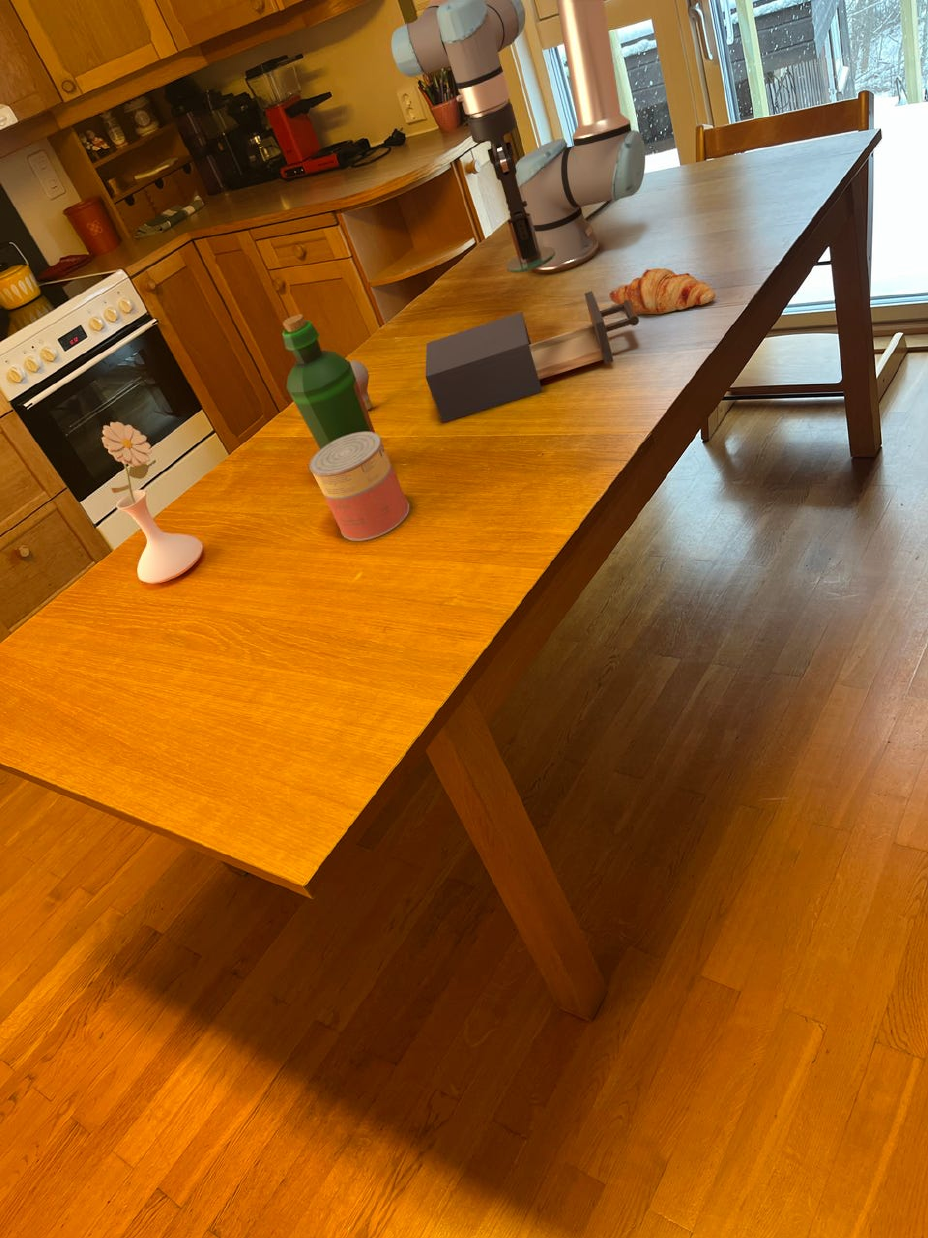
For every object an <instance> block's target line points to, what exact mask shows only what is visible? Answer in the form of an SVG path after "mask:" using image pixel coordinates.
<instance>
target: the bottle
mask: <svg viewBox="0 0 928 1238" xmlns="http://www.w3.org/2000/svg"><path fill="white" fill-rule="evenodd" d="M282 325H283V326H284V328H285V329H284V330H283V331H282V338H283V342H284V347H285V349H286V350H287V351H291V352H292V354H293V356H294V358H295V360H296V361H295V363H294V365H293V366H292V368H291V370H290V371H289V374H288V376H287V381H286V391H287V392H288V393H289V396H290V398H291V399H292V401H293V402H294V405H295V407H296V408H297V410H298V412H299V413H300V416H301V417H302V419H303V420H304V423H305V425H306V426H307V428H308V430H309V431H310V433H311V435H312V438H313V439H314V440H315V442H316V445H317V446H318V448H319V450H320V449H321V448H323V447H324V446H326V445H327V444H329V443H330V442H332V441H334V440H336V439H338V438H341V437H343V436H346V435H349V434H353V433H357V432H374V433H376V430H375V428H374V425H373V422H372V420H371V417H370V414H369V411H367V408H366V406H365V403H364V400H363V397H362V395H361V392H360V389H359V386H358V383H357V381H356V378H355V375H354V372H353V370H352V367H351V364H350V362H349V361H350V360H348V359H346V358H344V357H343V356H342V355H340V354H339V353H337V351H336V352H335V351H331V350H330V351H329V350H322V348H321V346H320V343H319V337H320V333H319V332H318V330H317V329H316V327H315V326H314V324H313V323H312V321H310V320H308V319H307V320H305V318H304V314H302V313H301V314H300V313H299V314H295V315H292V316H290V317H288V318H286V319H285V320H283V322H282Z"/></svg>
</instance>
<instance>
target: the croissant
mask: <svg viewBox="0 0 928 1238" xmlns="http://www.w3.org/2000/svg"><path fill="white" fill-rule="evenodd" d="M609 298H610V300H611V301H612V302H613V304H617V305H620V304H622V303H623V302H624V301H625V300H629V301H630V302H631V303H632V305H633V308H634V310H635V312H636V314H637V315H638V314H640V315H661V314H666V313H671V312H674V311H678V310H680V311H681V310H685V309H687V308H692V307H693V306H695V305H697V306H702V305H705V304H708V303H710V302H712V301H713V300H714V299H715V298H716V291H715V290H714V289H713V288H712V287H711V286H710V285H709V284H708V283H706V282H704V281H699V280H698V279H697V278H696V277H694V275H693V276H692V275H691V274H690V273H689V272H685V273H681V274H680V273H679V274H676V273H675V272H674V271H673V270H671V269H668V268H663V267H662V268H658V267H657V268H652V269H646V270H645V271H644V272H643V273H642V275H641V276H640V277H636V278H633V280H632V281H631V282H630V284H624V285H621V286H620V287H618V289H614V290H611V291H610V292H609Z"/></svg>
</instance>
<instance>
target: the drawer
mask: <svg viewBox="0 0 928 1238" xmlns="http://www.w3.org/2000/svg"><path fill="white" fill-rule="evenodd" d="M584 297H585V302H586V306H587V310H588V315H589V318H590V322H591V324H589V325H585V326H583V327H580V328H576V329H573V330H569V331H567V332H564V333H561V334H558V335H555V336H552V337H551V336H550V337H549V338H546V339H543V340H539V341H537V342H533V343H531V344H530V345H529V347H530V351H531V354H532V358H533V361H534V364H535V368H536V371H537V375H538V378H539V380H540V381H541V380H543V379H545V378H548V377H552V376H555V375H559V374H562V373H565V372H568V371H571V370H574V369H577V368H580V367H583V366H586V365H590V364H593V363H597V362H600V361H603V362H604V364H605V365H606V364H609V363H612V362H614V358H613V354H612V349H611V345H610V341H609V337H608V333H609V332H612V331H615V330H619V329H621V328H624V327H628V326H632V327H634V326H637V325H638V324H639V323H640V318H639V315H638V313H636V312H635V310H634V308H633V305H632V303H631V302H630V301H629V300H625V301H624V302H623V303H622V304H620V305H618V304H617V305H614V306H610V307H608V308H605V309H602V310H600V308H599V305H598V302H597V300H596V297H595V295H594V292H593V291H592V290H591V291H587V292H584ZM623 311H624V313H625V315H626V318H624V319H620V320H617V321H615V322H611V323H607V324H605V321H604V318H605V317H608V316H611V315H614V314H617V313H620V312H623Z"/></svg>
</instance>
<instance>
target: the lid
mask: <svg viewBox="0 0 928 1238" xmlns="http://www.w3.org/2000/svg"><path fill="white" fill-rule="evenodd" d="M527 218H528V222H529V225H530V229H531V233H532V236H533V240H534V243H535V247H536V251H537V254H538V255H535V256H533V257H530V258H527V259H524V260H522V256H521V253H520V249H519V246H518V242H517V239H516V235H515V232H514V228H513V225H512V223H511V224H508V223H507V225H508V228H509V231H510V234H511V238H512V242H513V245H514V249H515V251H516V255H515V256H514V257H513V258H511V259H510V260H508V262H507V263H506V270H507V272H509V273H513V274H519V273H520V274H521V273H525V272H530V271H533V269H535V268H538V267H540V266H542V265H544V264H546V263H547V262H549V261H550V260H551V259H553V257H554V256H555V250H554V249H553V248H552V247H539V244H538V241H537V237H536V234H535V230H534V226H533V223H532V219H531V215H530V214H529V213H527Z"/></svg>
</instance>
